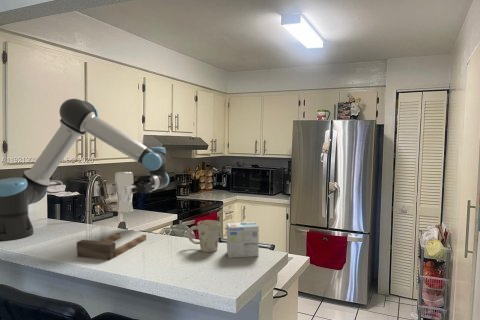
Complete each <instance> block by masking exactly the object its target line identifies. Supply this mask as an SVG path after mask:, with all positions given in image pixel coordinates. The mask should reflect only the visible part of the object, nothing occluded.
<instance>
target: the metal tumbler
mask: <svg viewBox="0 0 480 320" xmlns="http://www.w3.org/2000/svg"><path fill="white" fill-rule="evenodd" d="M134 181H135V180H134V172H133V171H117V172H115V177H114V184H115V189H116V195H115V196H116V199H117V206H116V212H117V213H130V212H133V211H134V208H133V194H134V193H133V194H129V195H125V188H126V187H131V186H134Z"/></svg>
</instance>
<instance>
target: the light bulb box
mask: <svg viewBox="0 0 480 320" xmlns="http://www.w3.org/2000/svg"><path fill="white" fill-rule="evenodd" d="M259 227H260V226H259V225H258V224H257V223H256V222H255V221H253V222H251V221H250V222H248V221H247V222H232V223H231V222H230V223H229V222H226V253H227V256H228V258H229V259H230V258H231V259H232V258H247V257H248V258H249V257H250V258H251V257H259V254H260V253H259V250H260V249H259V248H260V247H259V246H260V244H259V242H260V241H259V237H260V236H259V232H260V231H259Z"/></svg>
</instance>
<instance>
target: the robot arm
mask: <svg viewBox="0 0 480 320" xmlns="http://www.w3.org/2000/svg"><path fill="white" fill-rule="evenodd" d="M59 116H60V119H59V123H60V126H59V128H58V129H57V130H56V132H55V133H54V135H53V136H52V137H51V139H50V140H49V142H48V143H47V145H46V146H45V147H44V149H43V150H42V151H41V153H40V155H39V156H38V158H37V159H36V160H35V162H34V164H33V165H32V166H31V168H30V169H26V170H24V171H23V173H22V175H20V177H8V178H1V179H0V241H11V240H17V239H18V240H19V239H24V238H26V237H29V236H32V235H33V234H34V226H33V224H32V221H31V218H30V215H29V205H32V204H36V203H38V202H40V201H42V200H43V198H45V196H47V192H48V187H49V186H50V184H51V181H50V178H51V176H53V174H54V172H55V171H56V170H57V168H58V167H59V166H60V164H61V162H62V161H63V160H64V158H65V157H66V155H67V154H68V153H69V151H70V149H71V148H72V146H73V145H74V144H75V143H76V141H77V139H79V137H80V136H84V135H85V134H86V133H87V134H90V135H91V136H93V137H94V138H97V139H98V140H100V141H101V142H103V143H105V144H106V145H108V146H109V147H111V148H112V149H115V150H117V151H118V152H121V154H123V155H125V156H127V157H128V158H130V159H132V160H133V161H135V162H137V163H138V164H139V165H141V166H143V167H144V169H145V170H148V171H149V173H148V174H145V175H141V176H138V177H137V179H136V180H134V186H131V187H126V188H125V195H129V194H136V193H142V194H147V193H152V192H153V191H156V190H159V189H161V190H162V189H164V188H166V187H167V186H168V185H169V183H170V177H169V174H168V173H167V171H166V168H167V166H166V164H167V161H166V160H167V159H166V158H167V153H166V147H164V146H163V147H162V146H155V147H154V146H150V147H147V146H146V145H144V144H143V143H141V142H139V141H138V140H136V139H134V138H133V137H131V136H130V135H128V134H126V133H124V132H122V130H119V129H118V128H117V127H114V126H113V125H111V124H109V123H108V122H106V121H104V120H102V119H101V118H100V117H99V112H98V109H97V108H96V107H95V105H94V104H92V103H90V102H88V101H86V100H81V99H78V98H69V99H66V100H65V101H63V102H62V103H61V105H60V107H59ZM106 189H107V190H106V191H107V195H110V194H111V195H112V194H115V193H116V189H115V183H113V184H112V185H110V186H107V187H106Z"/></svg>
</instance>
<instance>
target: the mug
mask: <svg viewBox="0 0 480 320" xmlns="http://www.w3.org/2000/svg"><path fill="white" fill-rule="evenodd" d="M220 229H221V222H220V221H219V220H216V219H215V220H214V219H213V220H212V219H205V220H199V221H198V222H197V225H193V226H191V227H190V228H189V229H188V230H187V239H188V241H190V242H191V243H192V244H194V245H199V247H200V251H201V252H204V253H213V252H216V251H218V245H219V240H220V239H219V237H220ZM194 230H198V231H197V232H198V239H199V241H195V240H194V239H193V237H192V232H193V231H194Z"/></svg>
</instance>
